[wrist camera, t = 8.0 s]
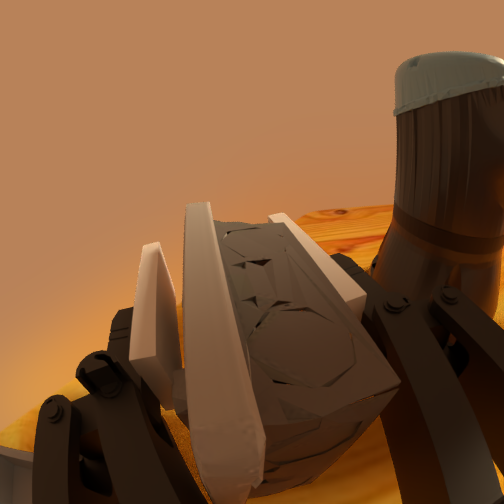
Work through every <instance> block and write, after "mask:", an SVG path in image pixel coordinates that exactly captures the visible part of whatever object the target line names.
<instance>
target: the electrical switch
mask: <svg viewBox="0 0 504 504" xmlns="http://www.w3.org/2000/svg"><path fill="white" fill-rule="evenodd" d="M281 236H283V238H282V237H281ZM285 249H286V252H284V251H285ZM182 296H183V297H182V307H183V337H184V362H185V368H184V369H180V370H176V371H173V383H174V385H172V400H173V404H174V407H175V411H176V415H177V416H178V417H179V418H180V420H181V421H182V422H183V423H184V424H185V426H186V427H187V428H188V429H189V430H190V437H191V446H192V450H193V454H194V458H195V461H196V465H197V468H198V472H199V475H200V478H201V481H202V483H203V485H204V487H205V489H206V491H207V493H208V495H209V497H210V499H211V501H212V503H213V504H245V503H246V500H247V498H255V497H261V496H267V495H271V494H275V493H279V492H282V491H284V490H287V489H290V488H294V487H299V486H302V485H306V484H310V483H311V482H313V481H314V480H315V479H316V478H317V477H318V476H320V475H321V474H322V473H323V472H324V471H325V470H326V469H327V468H329V467H330V466H331V465H332V464H333V463H334V462H335V461H336V460H337V459H338V458H339V457H340V456H341V455H342V454H343V453H344V452H345V451H346V450H347V449H348V448H349V447H350V446H351V445H352V444H353V443H354V442H355V441H356V440H357V439H358V438H359V437H360V436H361V435H362V434H363V432H364V431H365V430H366V429H367V428H368V427H369V426H370V425H371V423H372V422H373V421H374V420H375V419H376V418H377V416H378V415H379V414H380V413H381V412H382V410H383V409H384V408H385V407H386V405H387V404H388V403H389V402H390V400H391V399H392V398H393V396H394V395H395V394H396V392H397V391H398V390H399V388H398V389H395V390H393V391H390V392H387V393H384V394H381V395H378V396H375V397H372V398H368V397H371V396H373V395H376V394H379V393H381V392H384V391H386V390H389V389H391V388H394V387H396V386H398V385H399V384H400V383H401V380H400V379H399V377H398V376H397V374H396V373H395V371H394V370H393V369H392V367H391V366H390V364H389V363H388V361H387V360H386V358H385V357H384V355H383V354H382V352H381V351H380V350H379V348H378V347H377V345H376V344H375V342H374V341H373V340H372V338H371V337H370V335H369V334H368V332H367V331H366V330H365V328H364V327H363V325H362V324H361V323H360V321H359V320H358V319H357V317H356V316H355V314H354V313H353V312H352V310H351V309H350V308H349V306H348V305H347V303H346V302H345V301H344V299H343V298H342V297H341V295H340V294H339V293H338V291H337V290H336V289H335V287H334V286H333V285H332V283H331V282H330V281H329V279H328V278H327V277H326V275H325V274H324V273H323V272H322V270H321V269H320V268H319V266H318V265H317V264H316V262H315V261H314V260H313V259H312V257H311V256H310V255H309V253H308V252H307V251H306V250H305V248H304V247H303V246H302V245H301V243H300V242H299V241H298V239H297V238H296V237H295V236H294V234H293V233H292V232H291V231H290V229H289V228H288V227H287V226H286V224H285V223H284V222H280V223H265V224H248V223H242V222H220V221H215V220H213V217H212V212H211V207H210V202H202V203H191V204H187V205H186V215H185V225H184V250H183V295H182ZM301 310H304V311H301ZM349 332H350V333H352V341H351V338H350V334H349ZM289 384H291V385H289ZM365 398H368V399H365ZM362 399H365V400H362ZM359 400H362V401H359ZM357 401H358V402H357ZM354 402H355V403H354Z"/></svg>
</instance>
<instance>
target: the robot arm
mask: <svg viewBox="0 0 504 504" xmlns="http://www.w3.org/2000/svg"><path fill="white" fill-rule="evenodd" d="M393 114H394V116H396V120H397V160H396V181H395V195H394V208H393V217H392V222H391V224H390V226H389V229H388V231H387V233H386V235H385V237H384V239H383V241H382V244H381V246H380V249H379V251H378V254H377V255H376V256H375V258H374V260H373V261H372V263H371V266H370V269H369V272H368V274H367V273H366V272H364V270H363V269H362V268H361V267H360V266H359V267H358V264H356V263H355V262H354V261H353V260H352V259H351V258H349V257H347V256H345V255H343V254H340V253H337V254H333V255H330V256H329V255H328V254H327V253H326V252H325V251H324V250H323V249H322V248H321V247H319V246H318V245H317V244H316V243H315V242H314V241H313V240H312V239H311V238H310V237H309V236H308V235H307V234H306V233H305V232H304V231H303V230H302V229H301V228H299V227H298V226H297V225H296V224H295V223H294V222H293V221H292V220H291V219H290V218H289V217H288V216H286V215H285V214H284V213H278V214H273V215H269V216H268V222H269V223H280V222H284V223H285V224H286V226H287V227H288V228H289V229H290V231H291V232H292V233H293V234H294V236H295V237H296V238H297V239H298V241H299V242H300V243H301V245H302V246H303V247H304V248H305V250H306V251H307V252H308V253H309V255H310V256H311V257H312V259H313V260H314V261H315V262H316V264H317V265H318V266H319V268H320V269H321V270H322V272H323V273H324V274H325V275H326V277H327V278H328V279H329V281H330V282H331V283H332V285H333V286H334V287H335V289H336V290H337V291H338V293H339V294H340V295H341V297H342V298H343V299H344V301H345V302H346V303H347V305H348V306H349V308H350V309H351V310H352V312H353V313H354V314H355V316H356V317H357V319H358V320H359V321H360V323H361V324H362V325H363V327H364V328H365V330H366V331H367V332H368V334H369V335H370V337H371V338H372V340H373V341H374V342H375V344H376V345H377V347H378V348H379V350H380V351H381V352H382V354H383V355H384V357H385V358H386V360H387V361H388V363H389V364H390V366H391V367H392V369H393V370H394V371H395V373H396V374H397V376H398V377H399V379H400V380H401V383H400V384H399V385H398V386H396V387H394V388H391V389H389V390H386V391H384V392H381V393H379V394H376V395H374V397H375V396H378V395H381V394H384V393H387V392H390V391H393V390H395V389H398V388H399V390H398V391H397V392H396V394H395V395H394V396H393V398H392V399H391V400H390V402H389V403H388V404H387V405H386V407H385V408H384V409H383V410H382V412H381V413H380V418H381V421H382V424H383V428H384V431H385V435H386V438H387V442H388V445H389V449H390V453H391V457H392V460H393V464H394V468H395V472H396V476H397V481H398V485H399V489H400V494H401V499H402V503H403V504H504V495H503V493H502V491H501V487H500V483H499V480H498V476H497V473H496V470H495V466H494V463H493V461H494V462H495V464H496V465H497V467H498V468H499V470H500V472H501V473H502V475H503V476H504V330H503V329H502V328H501V327H500V326H499V325H498V324H497V323H496V322H495V321H494V320H493V317H494V315H495V312H496V309H497V304H498V295H499V286H500V273H501V254H502V249H503V246H504V60H503V59H501V58H498V57H495V56H490V55H486V54H481V53H472V52H458V51H452V52H451V51H450V52H437V53H428V54H424V55H419V56H416V57H413V58H410V59H408V60H407V61H405V62H403V63H402V64H401V65H400V66H399V67H398V69H397V71H396V74H395V110H394V111H393ZM281 237H282V238H283V236H281ZM284 252H286V249H285V251H284ZM302 311H304V310H302ZM110 331H111V333H110V336H109V342H108V348H107V351H103V350H101V351H96V352H93V353H91V354H89V355H88V356H86V357H85V358H84V359H83V360H82V361H81V362H80V364H79V366H78V368H77V370H76V378H77V379H78V380H79V382H80V383H81V384H82V385H83V386H84V387H85V388H86V389H87V390H88V392H89V393H90V394H88V395H86V396H84V397H82V398H79V399H77V400H75V401H72V402H70V401H69V400H68V399H67V398H66V397H65V396H63V395H53V396H51V397H49V398H48V399H46V400H45V402H44V403H43V404H42V406H41V408H40V411H39V416H38V422H37V429H36V436H35V445H34V455H33V470H32V504H208V503H207V501H206V499H205V498H204V496H203V494H202V493H201V491H200V489H199V487H198V486H197V484H196V482H195V480H194V478H193V477H192V475H191V473H190V471H189V469H188V467H187V465H186V463H185V461H184V459H183V457H182V455H181V453H180V451H179V449H178V447H177V445H176V443H175V441H174V438H173V436H172V434H171V432H170V429H169V427H168V425H167V423H166V421H165V420H164V418H163V417H162V416H161V410H160V404H161V405H162V406H163V408H164V409H165V410H166V411H167V410H173V409H175V407H174V404H173V400H172V385H174V383H173V371H176V370H180V369H182V361H181V352H180V343H179V333H178V323H177V311H176V297H175V289H174V286H173V283H172V280H171V277H170V274H169V271H168V268H167V265H166V262H165V259H164V256H163V253H162V249H161V246H160V243H159V242H155V243H151V244H147V245H144V246H143V250H142V255H141V261H140V267H139V274H138V281H137V287H136V294H135V301H134V307H131V308H126V309H122V310H119V311H118V312H117V314H116V315H115V317H114V318H113V320H112V324H111V330H110ZM349 334H350V338H351V341H352V333H350V332H349ZM492 459H493V460H492Z"/></svg>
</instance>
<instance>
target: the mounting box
mask: <svg viewBox="0 0 504 504" xmlns="http://www.w3.org/2000/svg"><path fill="white" fill-rule="evenodd" d="M33 455H34V453H32V452H26V451H21V450H16V449H12V448H8V447H4V446H0V504H32V470H33Z"/></svg>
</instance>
